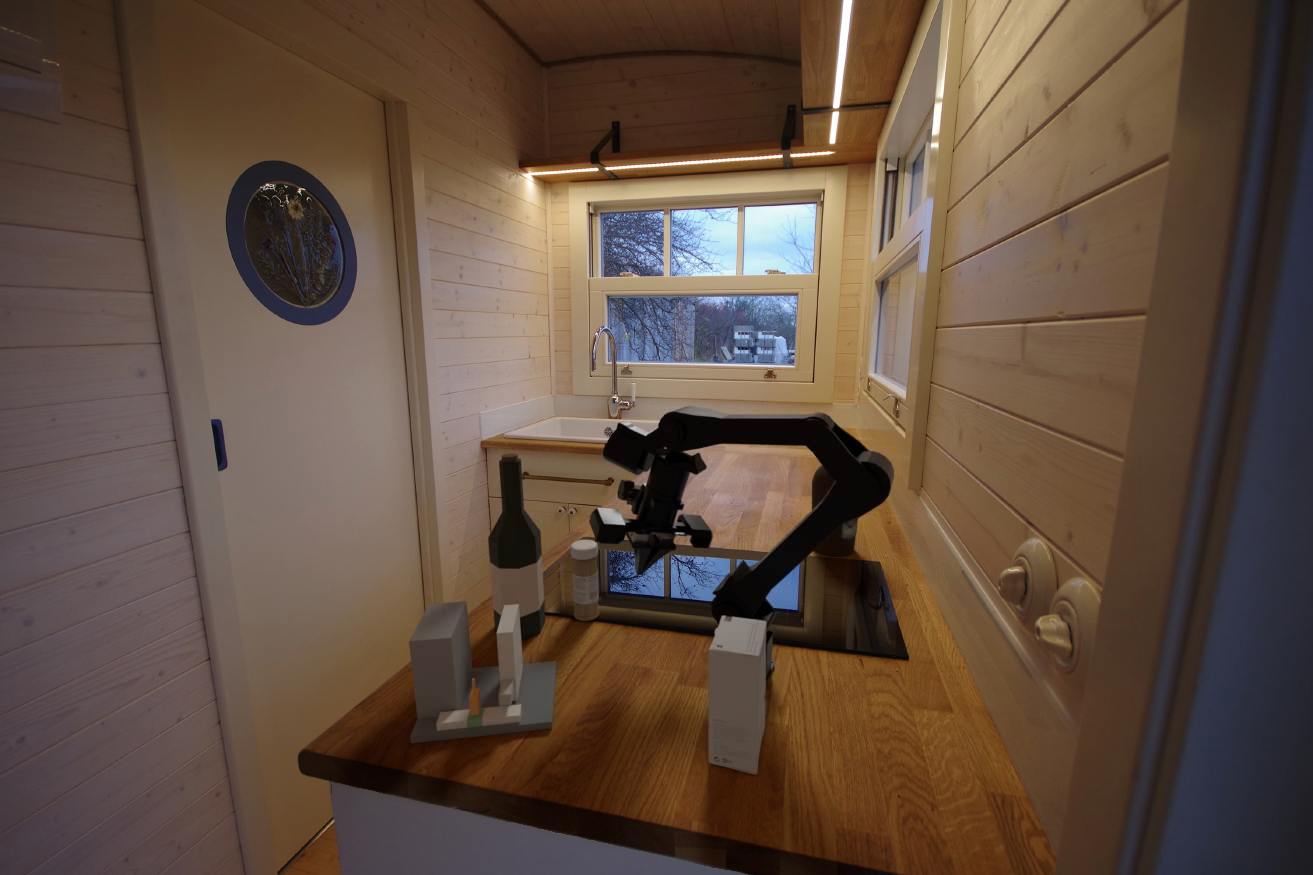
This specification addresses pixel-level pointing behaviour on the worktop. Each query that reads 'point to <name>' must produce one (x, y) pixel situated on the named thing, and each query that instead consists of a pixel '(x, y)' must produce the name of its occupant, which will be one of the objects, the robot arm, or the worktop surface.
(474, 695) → the orange block with rod
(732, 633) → the skincare box
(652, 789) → the worktop surface
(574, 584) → the sprinkles bottle
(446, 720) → the base
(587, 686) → the worktop surface
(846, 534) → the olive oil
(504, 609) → the white tall block
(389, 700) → the worktop surface
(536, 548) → the wine bottle
